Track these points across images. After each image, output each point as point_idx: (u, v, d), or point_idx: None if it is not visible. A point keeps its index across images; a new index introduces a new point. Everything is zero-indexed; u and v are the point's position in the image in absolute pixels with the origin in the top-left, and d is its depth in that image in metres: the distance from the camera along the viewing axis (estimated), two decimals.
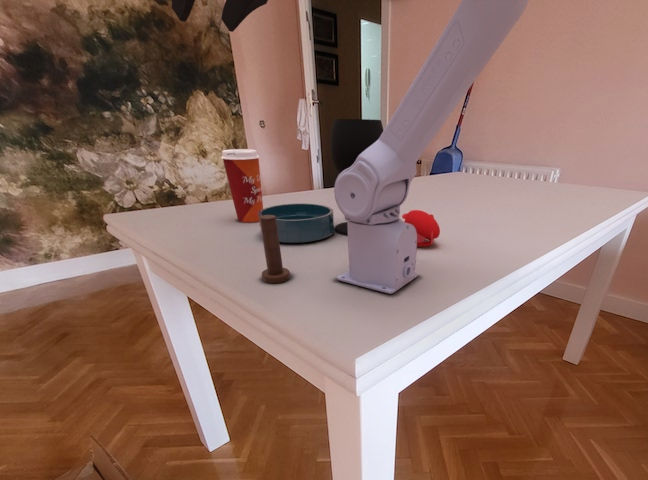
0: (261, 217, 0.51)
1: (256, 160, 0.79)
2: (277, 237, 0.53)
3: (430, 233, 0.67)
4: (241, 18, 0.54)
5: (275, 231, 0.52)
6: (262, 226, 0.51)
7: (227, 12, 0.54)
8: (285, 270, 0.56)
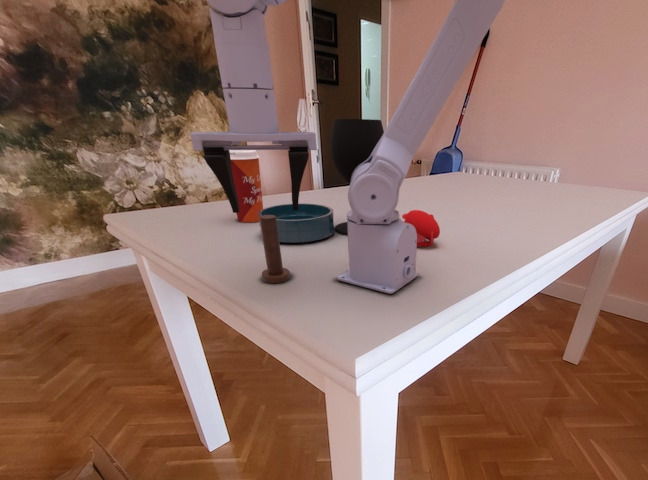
0: (261, 217, 0.51)
1: (256, 160, 0.79)
2: (277, 237, 0.53)
3: (430, 233, 0.67)
4: (295, 190, 0.49)
5: (275, 231, 0.52)
6: (262, 226, 0.51)
7: None
8: (285, 270, 0.56)
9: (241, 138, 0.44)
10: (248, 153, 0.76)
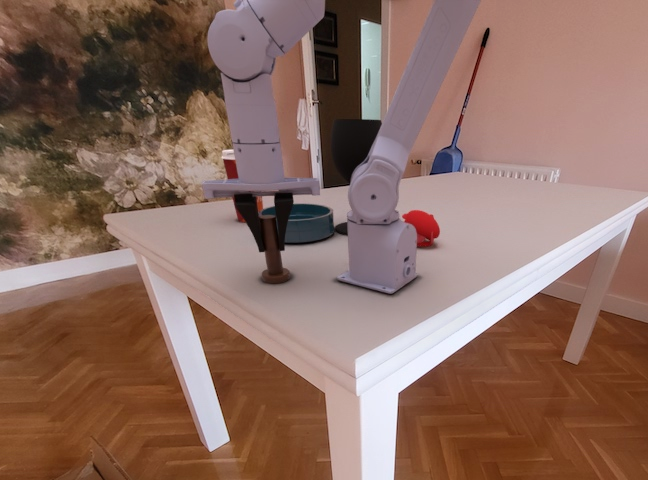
0: (261, 217, 0.51)
1: None
2: (277, 237, 0.53)
3: (430, 233, 0.67)
4: (281, 233, 0.52)
5: (275, 231, 0.52)
6: (262, 226, 0.51)
7: None
8: (285, 270, 0.56)
9: (249, 188, 0.47)
10: None
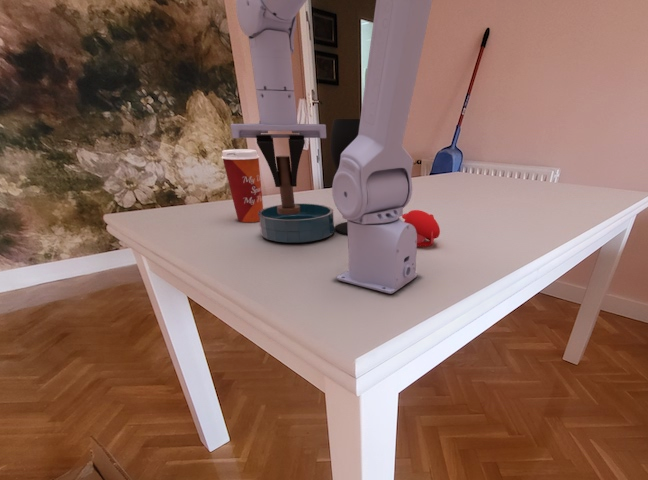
0: (277, 156, 0.62)
1: (256, 160, 0.79)
2: (290, 174, 0.64)
3: (430, 233, 0.67)
4: (294, 170, 0.62)
5: (288, 168, 0.63)
6: (278, 164, 0.62)
7: None
8: (296, 205, 0.67)
9: (269, 128, 0.58)
10: (248, 153, 0.76)
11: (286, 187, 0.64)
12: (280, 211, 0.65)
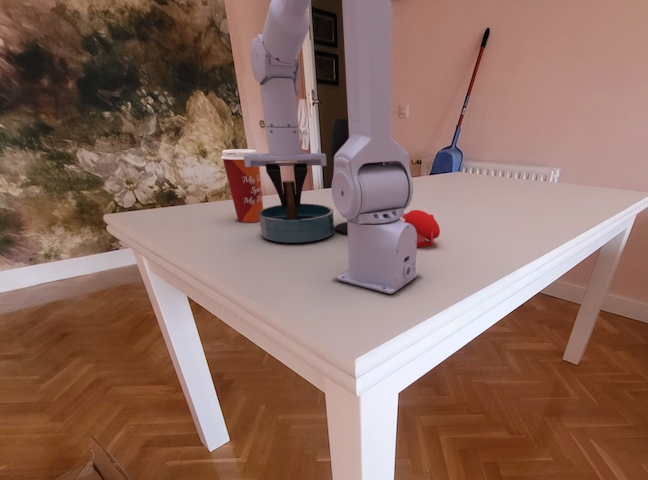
0: (284, 181, 0.71)
1: None
2: (295, 197, 0.72)
3: (430, 233, 0.67)
4: (298, 193, 0.71)
5: (293, 192, 0.72)
6: (284, 188, 0.71)
7: None
8: None
9: (277, 159, 0.67)
10: (248, 153, 0.76)
11: (291, 208, 0.73)
12: None
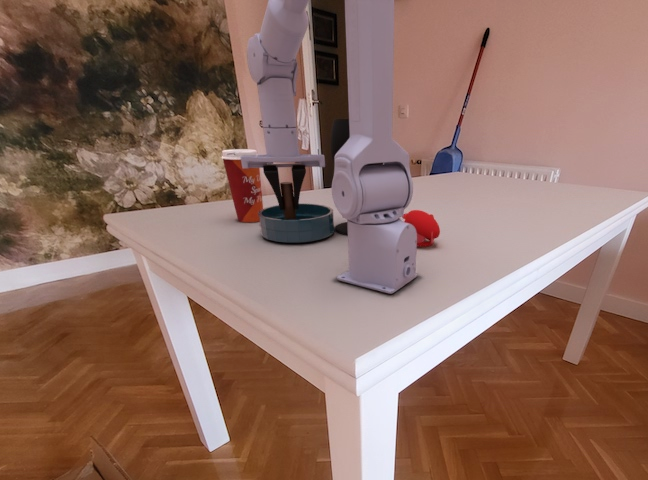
0: (281, 183, 0.70)
1: None
2: (293, 198, 0.71)
3: (430, 233, 0.67)
4: (296, 195, 0.70)
5: (291, 193, 0.71)
6: (282, 190, 0.70)
7: None
8: None
9: (275, 160, 0.65)
10: (248, 153, 0.76)
11: (289, 210, 0.72)
12: None
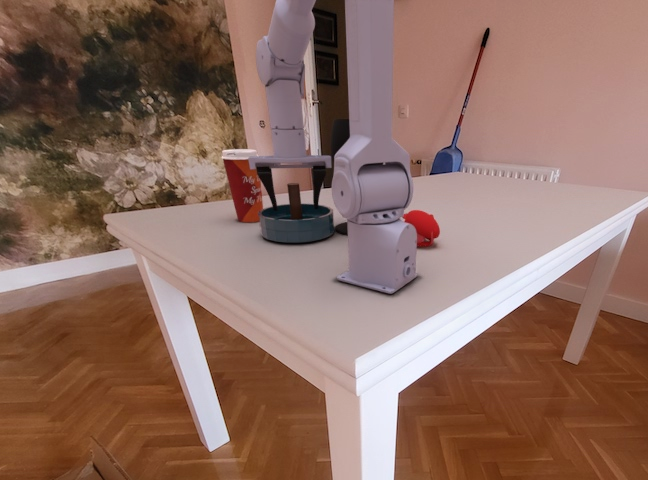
0: (288, 184, 0.71)
1: None
2: (300, 199, 0.72)
3: (430, 233, 0.67)
4: (316, 195, 0.71)
5: (298, 194, 0.71)
6: (289, 190, 0.71)
7: (313, 199, 0.74)
8: None
9: (282, 161, 0.66)
10: (248, 153, 0.76)
11: (296, 210, 0.72)
12: None
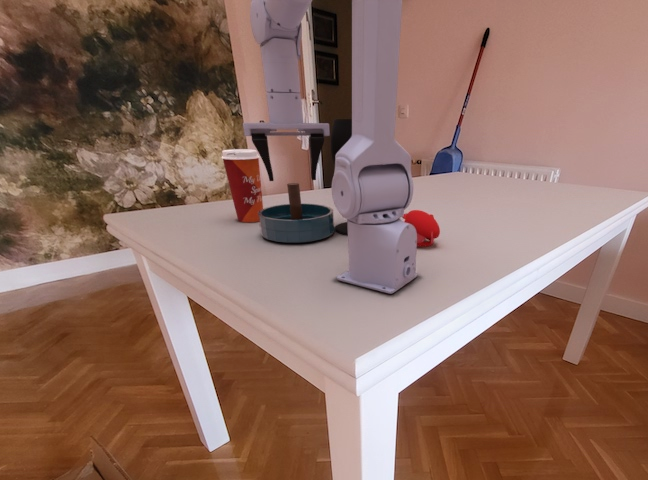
0: (288, 184, 0.71)
1: (256, 160, 0.79)
2: (300, 199, 0.72)
3: (430, 233, 0.67)
4: (314, 165, 0.69)
5: (298, 194, 0.71)
6: (289, 190, 0.71)
7: (311, 170, 0.71)
8: None
9: (278, 127, 0.63)
10: (248, 153, 0.76)
11: (296, 210, 0.72)
12: None
